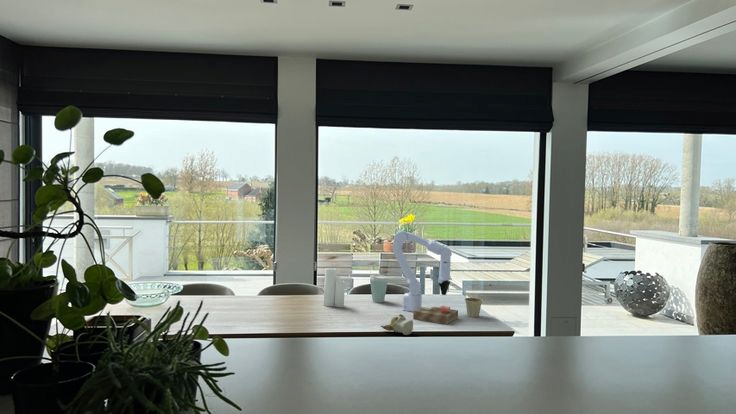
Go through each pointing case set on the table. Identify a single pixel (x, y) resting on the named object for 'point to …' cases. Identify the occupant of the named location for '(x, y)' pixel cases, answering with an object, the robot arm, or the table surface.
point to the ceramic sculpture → (400, 325)
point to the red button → (444, 309)
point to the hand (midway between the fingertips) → (443, 294)
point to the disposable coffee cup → (378, 287)
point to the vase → (333, 288)
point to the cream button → (427, 307)
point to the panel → (435, 315)
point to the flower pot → (473, 306)
